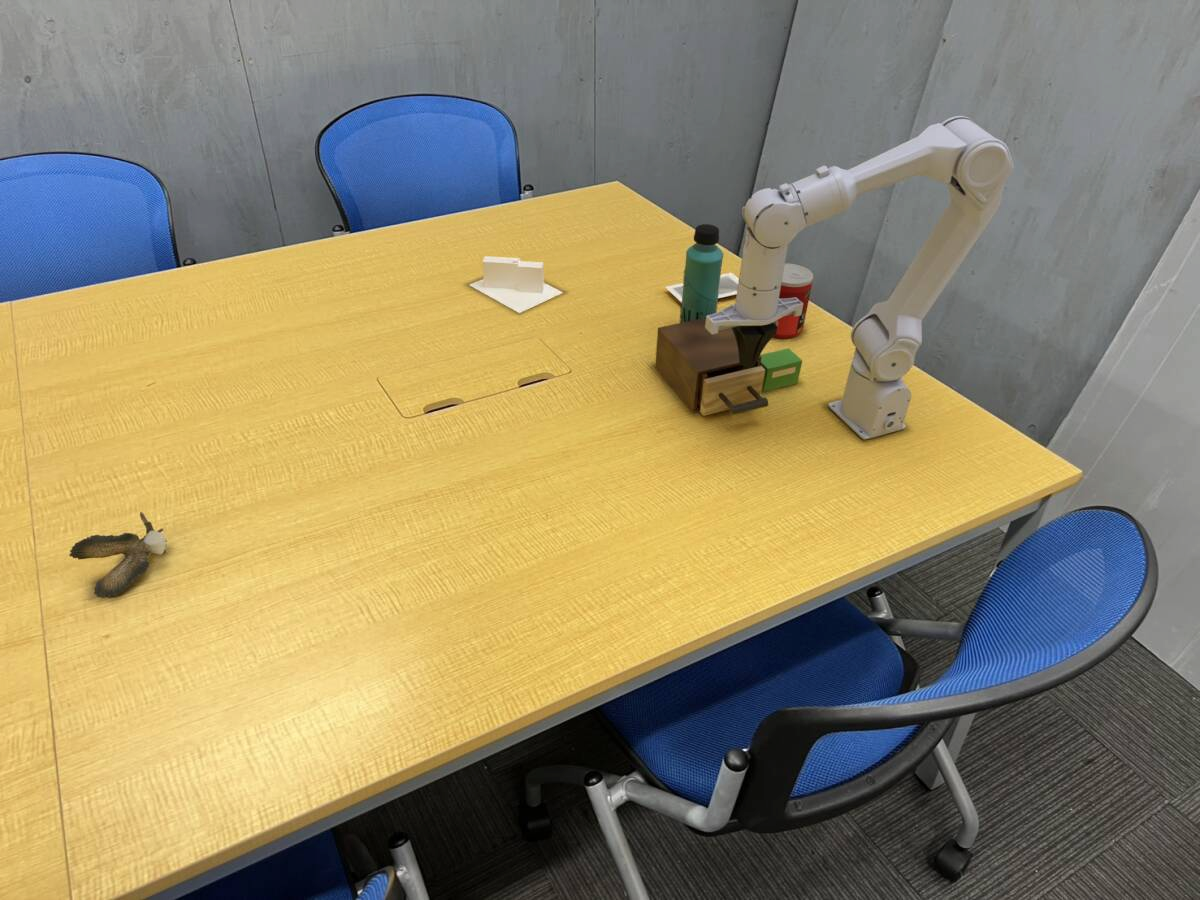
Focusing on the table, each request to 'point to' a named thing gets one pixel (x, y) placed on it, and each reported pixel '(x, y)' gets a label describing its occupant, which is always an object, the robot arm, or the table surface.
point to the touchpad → (726, 287)
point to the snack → (780, 369)
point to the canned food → (792, 286)
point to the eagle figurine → (132, 556)
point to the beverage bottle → (701, 275)
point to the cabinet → (693, 356)
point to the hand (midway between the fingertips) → (746, 364)
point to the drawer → (731, 390)
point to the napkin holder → (515, 282)
